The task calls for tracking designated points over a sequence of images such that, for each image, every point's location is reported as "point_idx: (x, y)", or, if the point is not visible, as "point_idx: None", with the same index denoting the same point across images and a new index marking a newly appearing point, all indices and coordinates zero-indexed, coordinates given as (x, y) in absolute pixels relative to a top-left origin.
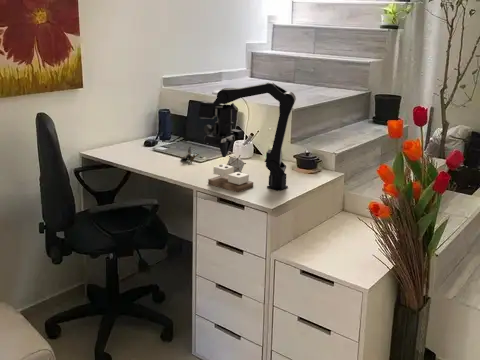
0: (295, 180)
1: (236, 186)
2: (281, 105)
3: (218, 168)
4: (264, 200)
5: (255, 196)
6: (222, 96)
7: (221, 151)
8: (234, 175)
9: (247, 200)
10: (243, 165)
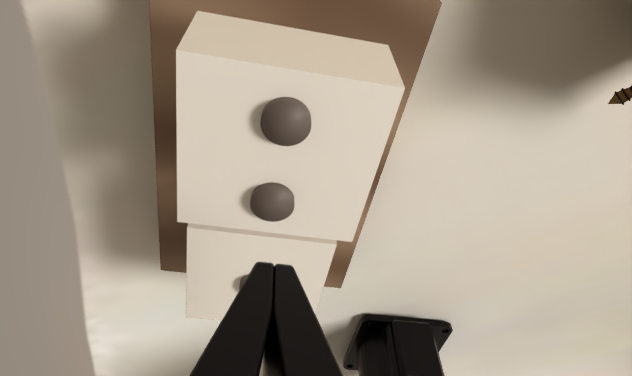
0: (565, 353)
1: (172, 254)
2: None
3: (178, 137)
4: (165, 365)
5: (184, 325)
6: None
7: (207, 357)
8: (208, 273)
9: (95, 324)
10: None
